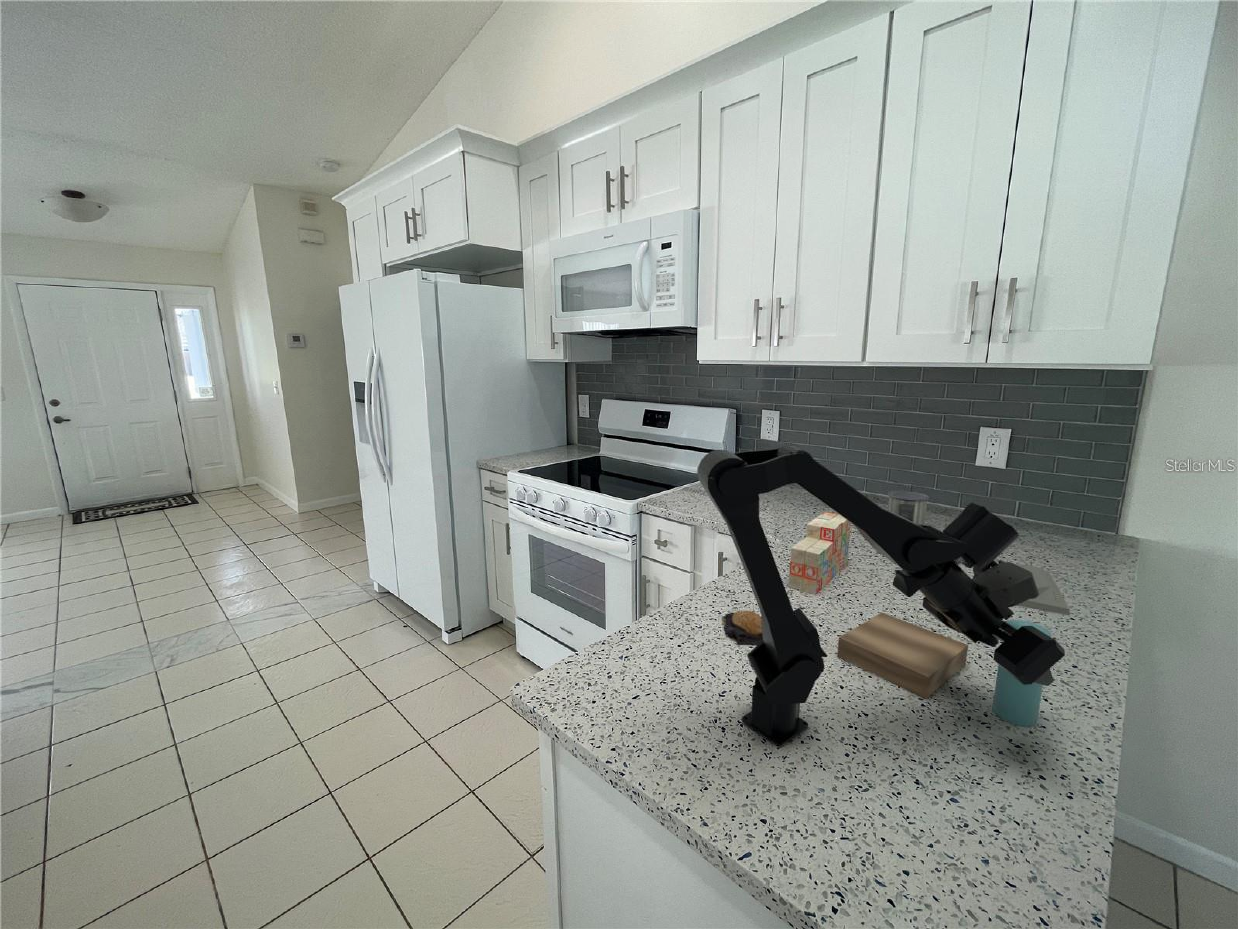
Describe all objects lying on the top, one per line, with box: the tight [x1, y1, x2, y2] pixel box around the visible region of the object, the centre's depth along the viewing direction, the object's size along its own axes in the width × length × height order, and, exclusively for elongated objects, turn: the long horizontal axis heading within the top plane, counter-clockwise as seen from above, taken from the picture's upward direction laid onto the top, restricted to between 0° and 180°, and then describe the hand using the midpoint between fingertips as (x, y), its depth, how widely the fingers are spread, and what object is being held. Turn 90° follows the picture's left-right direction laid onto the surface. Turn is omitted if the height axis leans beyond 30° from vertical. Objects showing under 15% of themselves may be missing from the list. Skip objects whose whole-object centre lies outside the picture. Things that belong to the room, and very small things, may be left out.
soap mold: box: [1016, 564, 1070, 616], centre depth 111 cm, size 10×20×4 cm, turn 149°
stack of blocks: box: [788, 512, 852, 595], centre depth 119 cm, size 21×6×12 cm, turn 140°
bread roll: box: [721, 610, 763, 647], centre depth 96 cm, size 11×8×4 cm
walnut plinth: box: [837, 612, 969, 699], centre depth 86 cm, size 14×14×4 cm
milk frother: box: [887, 490, 929, 525], centre depth 130 cm, size 14×16×15 cm
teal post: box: [991, 619, 1052, 728], centre depth 71 cm, size 5×5×13 cm
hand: (1021, 662), depth 71 cm, fingers open, 9 cm apart
